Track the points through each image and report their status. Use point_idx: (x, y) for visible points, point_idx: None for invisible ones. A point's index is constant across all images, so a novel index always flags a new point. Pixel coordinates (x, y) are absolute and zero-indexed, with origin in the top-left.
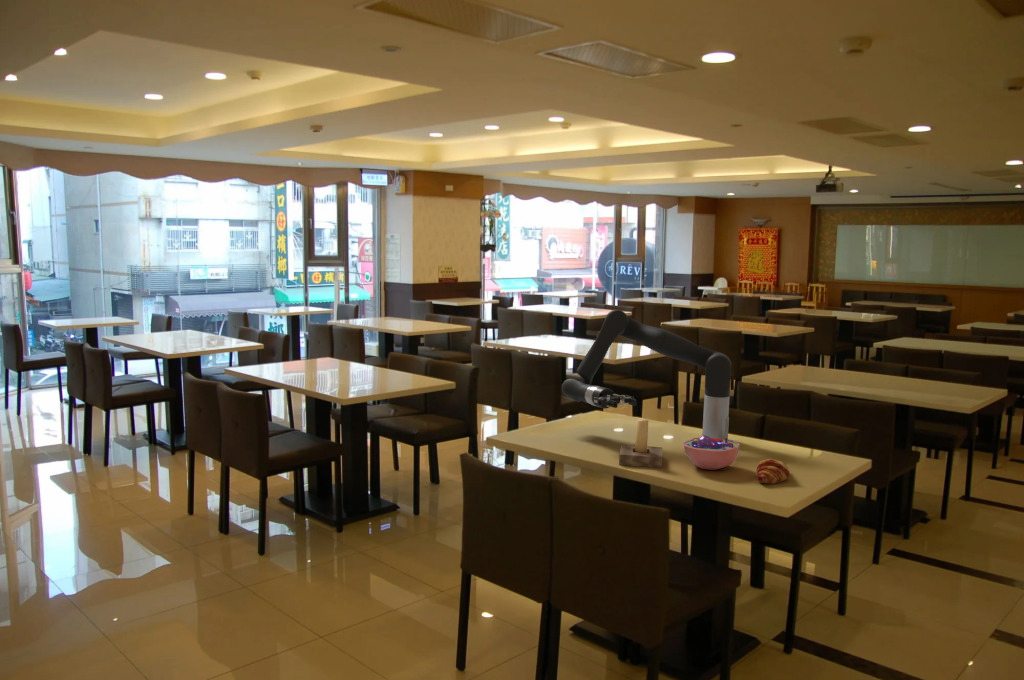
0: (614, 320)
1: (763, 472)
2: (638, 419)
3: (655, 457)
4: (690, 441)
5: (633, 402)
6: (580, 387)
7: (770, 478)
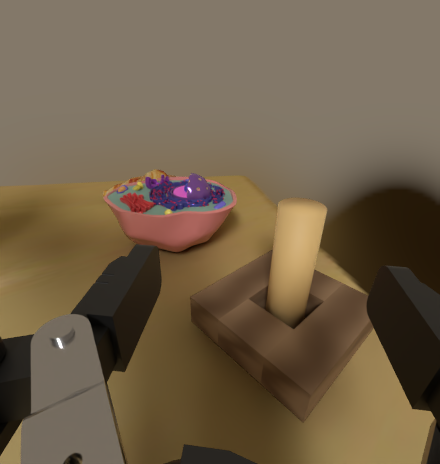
0: None
1: None
2: (309, 215)
3: None
4: (190, 211)
5: (152, 279)
6: None
7: None
